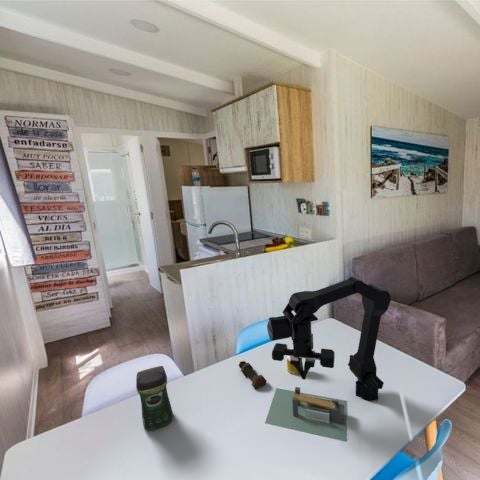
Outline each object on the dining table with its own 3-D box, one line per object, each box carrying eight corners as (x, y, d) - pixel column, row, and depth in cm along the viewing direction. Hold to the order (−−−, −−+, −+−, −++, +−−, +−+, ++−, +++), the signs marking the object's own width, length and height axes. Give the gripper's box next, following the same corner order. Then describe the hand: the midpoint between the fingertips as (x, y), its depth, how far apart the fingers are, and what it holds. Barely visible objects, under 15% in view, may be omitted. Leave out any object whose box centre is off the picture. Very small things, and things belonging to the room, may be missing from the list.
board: (347, 403, 97) (347, 400, 97) (346, 444, 83) (346, 441, 83) (276, 390, 106) (276, 388, 106) (265, 425, 91) (264, 423, 91)
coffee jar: (171, 407, 102) (165, 360, 98) (174, 425, 94) (167, 374, 90) (142, 416, 99) (134, 367, 95) (143, 435, 91) (134, 383, 87)
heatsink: (330, 407, 95) (330, 398, 94) (329, 425, 88) (329, 415, 88) (308, 403, 97) (308, 394, 97) (305, 420, 91) (305, 410, 90)
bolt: (244, 371, 121) (262, 392, 107) (234, 369, 118) (251, 391, 105) (249, 358, 121) (268, 377, 108) (239, 356, 119) (257, 375, 105)
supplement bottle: (297, 378, 111) (296, 355, 109) (285, 374, 114) (283, 351, 112) (303, 370, 115) (302, 348, 113) (291, 366, 118) (290, 344, 117)
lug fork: (300, 403, 98) (300, 387, 97) (297, 417, 92) (297, 400, 91) (296, 402, 98) (295, 386, 97) (293, 416, 93) (292, 399, 92)
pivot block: (344, 413, 92) (344, 401, 91) (344, 424, 88) (344, 412, 87) (332, 411, 94) (331, 399, 93) (331, 421, 89) (331, 409, 89)
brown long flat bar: (336, 405, 92) (336, 402, 91) (336, 411, 89) (336, 409, 89) (293, 394, 96) (293, 391, 96) (292, 400, 94) (292, 397, 93)
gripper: (334, 324, 94) (335, 367, 97) (277, 319, 100) (280, 359, 104) (333, 343, 84) (334, 390, 87) (270, 335, 90) (272, 380, 93)
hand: (303, 378), depth 93 cm, fingers closed
